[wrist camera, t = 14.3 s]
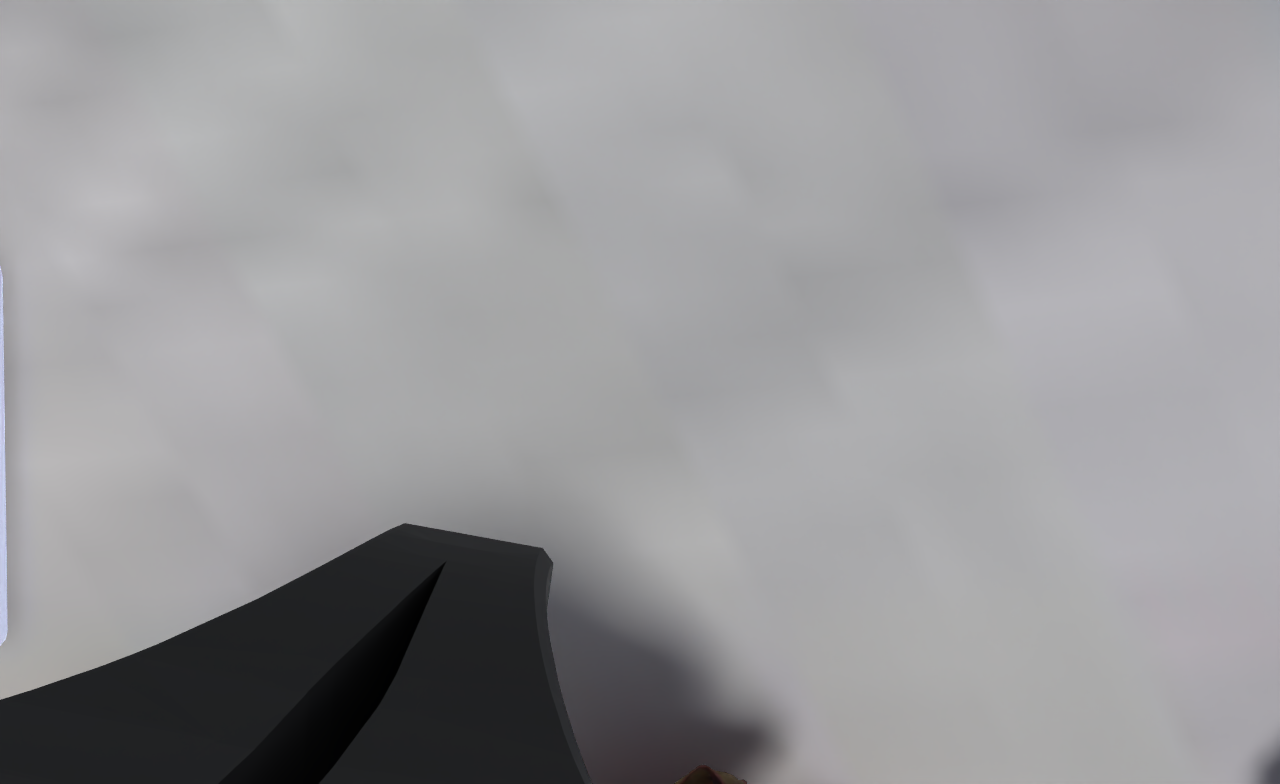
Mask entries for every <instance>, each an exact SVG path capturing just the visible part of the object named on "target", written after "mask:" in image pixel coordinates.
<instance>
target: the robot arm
mask: <svg viewBox="0 0 1280 784" xmlns="http://www.w3.org/2000/svg"><path fill="white" fill-rule="evenodd" d="M552 569H553V562H552V561H551V559H550V558H549V556H548V555H547V554H546V552H545V551H544V549H543V548H538V547H533V546H527V545H522V544H516V543H511V542H505V541H500V540H494V539H489V538H483V537H478V536H472V535H467V534H461V533H456V532H450V531H445V530H439V529H434V528H428V527H423V526H417V525H412V524H406V523H404V524H402V525H400V526H397V527H395V528H393V529H390V530H388V531H386V532H384V533H382V534H380V535H378V536H377V537H375V538H373V539H371V540H369V541H367V542H365V543H363V544H361V545H360V546H358V547H356V548H354V549H352V550H350V551H348V552H346V553H345V554H343V555H341V556H339V557H337V558H335V559H333V560H332V561H330V562H328V563H326V564H324V565H322V566H320V567H318V568H316V569H315V570H313V571H311V572H309V573H307V574H305V575H303V576H301V577H299V578H297V579H295V580H293V581H291V582H289V583H287V584H286V585H284V586H282V587H280V588H278V589H276V590H274V591H272V592H270V593H268V594H266V595H264V596H262V597H260V598H258V599H256V600H254V601H252V602H250V603H248V604H245V605H243V606H241V607H239V608H237V609H234V610H232V611H230V612H228V613H226V614H223V615H221V616H219V617H217V618H215V619H212V620H210V621H208V622H206V623H204V624H201V625H199V626H197V627H195V628H192V629H190V630H188V631H186V632H184V633H181V634H179V635H177V636H175V637H173V638H170V639H168V640H166V641H164V642H162V643H159V644H157V645H155V646H152V647H150V648H147V649H145V650H142V651H140V652H137V653H135V654H132V655H130V656H127V657H124V658H122V659H119V660H116V661H114V662H111V663H109V664H106V665H103V666H101V667H98V668H95V669H92V670H89V671H86V672H83V673H81V674H78V675H75V676H72V677H69V678H66V679H63V680H60V681H57V682H54V683H51V684H48V685H45V686H42V687H40V688H37V689H34V690H31V691H27V692H24V693H21V694H18V695H15V696H11V697H8V698H5V699H2V700H0V784H592V782H591V780H590V777H589V775H588V772H587V770H586V767H585V764H584V762H583V759H582V757H581V754H580V751H579V748H578V746H577V743H576V740H575V737H574V734H573V731H572V727H571V724H570V721H569V718H568V715H567V711H566V708H565V705H564V702H563V698H562V694H561V690H560V686H559V682H558V678H557V673H556V668H555V663H554V658H553V653H552V648H551V643H550V638H549V630H548V623H547V604H548V597H549V590H550V583H551V576H552ZM7 631H8V629H7V556H6V483H5V410H4V337H3V276H2V271H1V267H0V645H1V644H2V643H3V642H4V641H5V640H6V636H7Z"/></svg>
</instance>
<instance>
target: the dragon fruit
mask: <svg viewBox="0 0 1280 784" xmlns="http://www.w3.org/2000/svg"><path fill="white" fill-rule="evenodd" d="M674 784H747V782H746V781H745V780H738V779H737V778H736V777H735V776H733V775H730V774H728V773H726V772H720V771H715V770H713V769H711V768H710V767H708V766H706V765H700V766H698V767H697V768H696V769H694V770H692V771H691V772H690V773H689V774H687V775H686V776H684V777H683V778H681V779H680V780H678V781H677V782H676V783H674Z"/></svg>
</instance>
